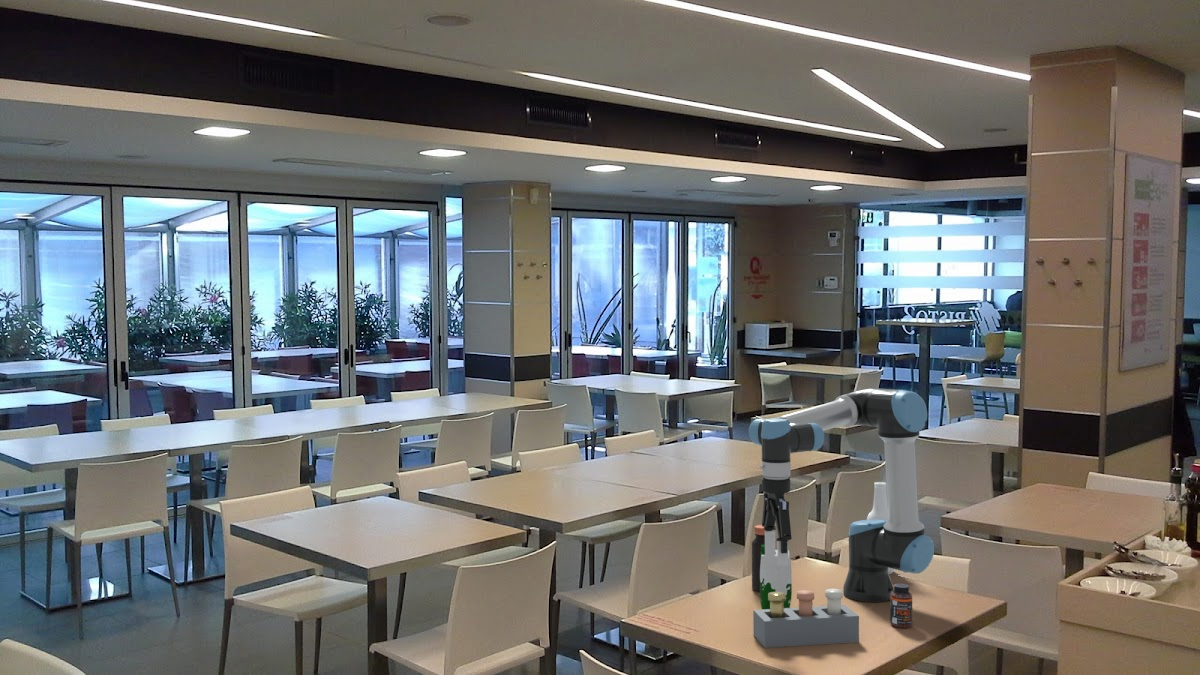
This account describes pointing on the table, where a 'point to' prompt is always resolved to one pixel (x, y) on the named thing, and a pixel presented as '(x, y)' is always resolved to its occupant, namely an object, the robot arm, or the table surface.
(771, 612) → the brass plunger
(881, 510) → the alcohol
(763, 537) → the vinegar
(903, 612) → the supplement bottle
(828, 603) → the white rounded piece
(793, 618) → the block
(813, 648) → the table surface
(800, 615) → the pink rounded piece
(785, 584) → the milk carton
